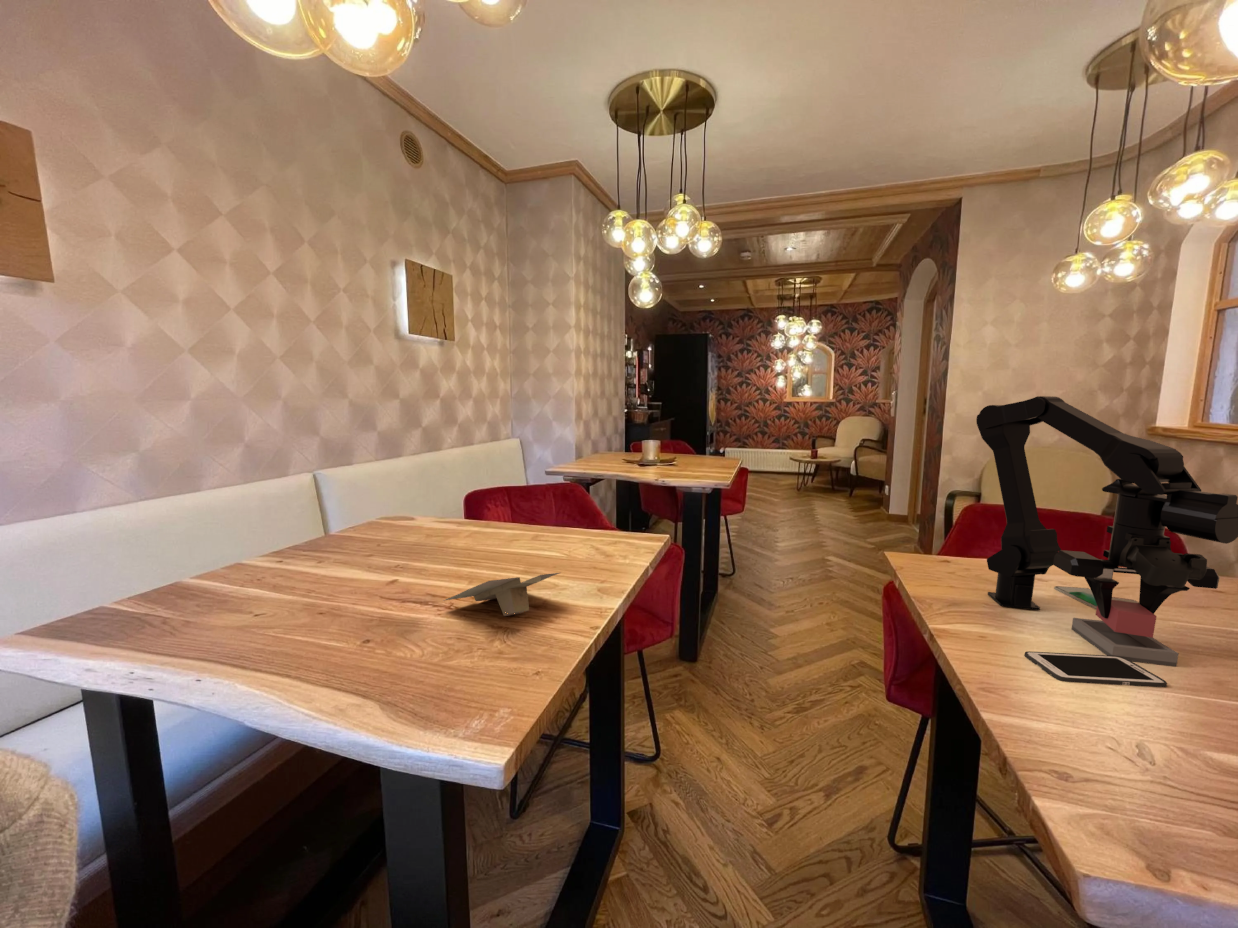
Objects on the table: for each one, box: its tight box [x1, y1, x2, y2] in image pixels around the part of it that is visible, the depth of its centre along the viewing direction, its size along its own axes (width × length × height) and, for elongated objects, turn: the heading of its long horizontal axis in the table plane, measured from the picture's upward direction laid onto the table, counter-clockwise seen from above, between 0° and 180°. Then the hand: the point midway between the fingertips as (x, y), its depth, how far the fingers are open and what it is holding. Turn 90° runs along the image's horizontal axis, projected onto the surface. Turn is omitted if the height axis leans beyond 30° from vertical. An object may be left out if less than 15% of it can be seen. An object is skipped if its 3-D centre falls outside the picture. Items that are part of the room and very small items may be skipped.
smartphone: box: [1053, 585, 1097, 610], centre depth 102 cm, size 7×1×15 cm
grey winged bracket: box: [442, 572, 562, 617], centre depth 92 cm, size 16×9×15 cm
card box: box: [1095, 596, 1157, 638], centre depth 83 cm, size 7×4×4 cm, turn 156°
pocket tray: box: [1071, 617, 1179, 667], centre depth 84 cm, size 11×8×2 cm
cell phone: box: [1024, 651, 1168, 688], centre depth 77 cm, size 8×15×1 cm, turn 85°
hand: (1123, 619), depth 83 cm, fingers closed on card box, 5 cm apart
